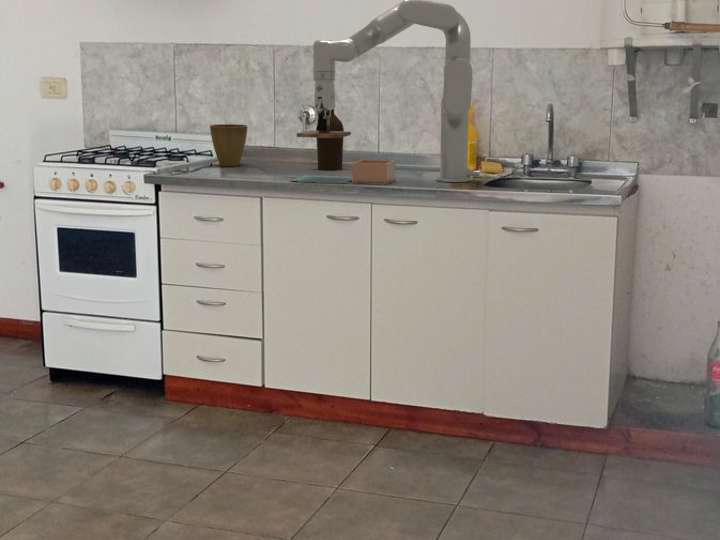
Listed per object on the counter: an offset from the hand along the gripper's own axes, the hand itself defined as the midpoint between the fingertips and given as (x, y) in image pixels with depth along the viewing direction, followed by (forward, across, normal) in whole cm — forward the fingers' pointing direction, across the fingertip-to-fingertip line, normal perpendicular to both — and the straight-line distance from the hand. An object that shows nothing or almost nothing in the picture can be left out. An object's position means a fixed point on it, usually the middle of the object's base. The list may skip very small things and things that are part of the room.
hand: (324, 129), depth 367 cm
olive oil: (+18, +36, +9) cm, 41 cm away
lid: (+2, 0, 0) cm, 2 cm away
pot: (+18, 0, -18) cm, 25 cm away
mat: (+18, 0, 0) cm, 18 cm away
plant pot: (+18, +37, +51) cm, 65 cm away
